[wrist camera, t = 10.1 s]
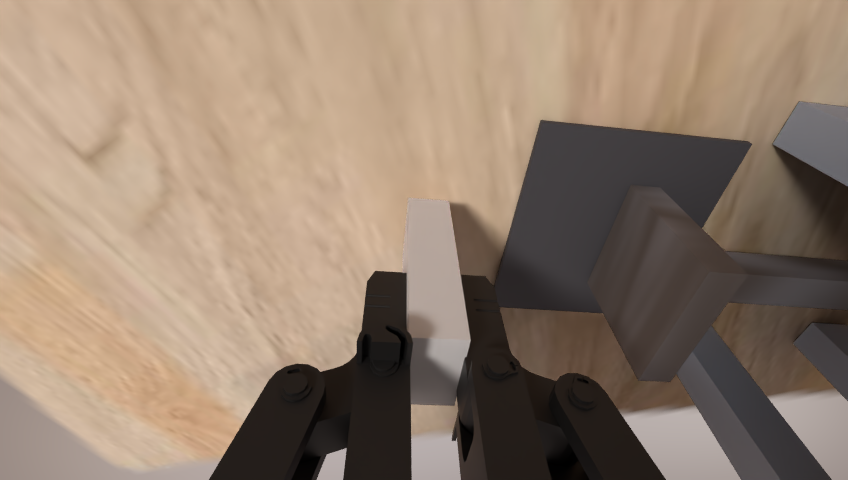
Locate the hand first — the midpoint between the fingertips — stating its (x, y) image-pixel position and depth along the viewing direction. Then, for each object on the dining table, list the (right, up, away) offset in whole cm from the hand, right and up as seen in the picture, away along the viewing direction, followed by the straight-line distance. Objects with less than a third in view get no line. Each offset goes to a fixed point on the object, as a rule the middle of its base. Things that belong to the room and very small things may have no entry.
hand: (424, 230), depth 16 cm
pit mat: (+8, 0, +2) cm, 8 cm away
